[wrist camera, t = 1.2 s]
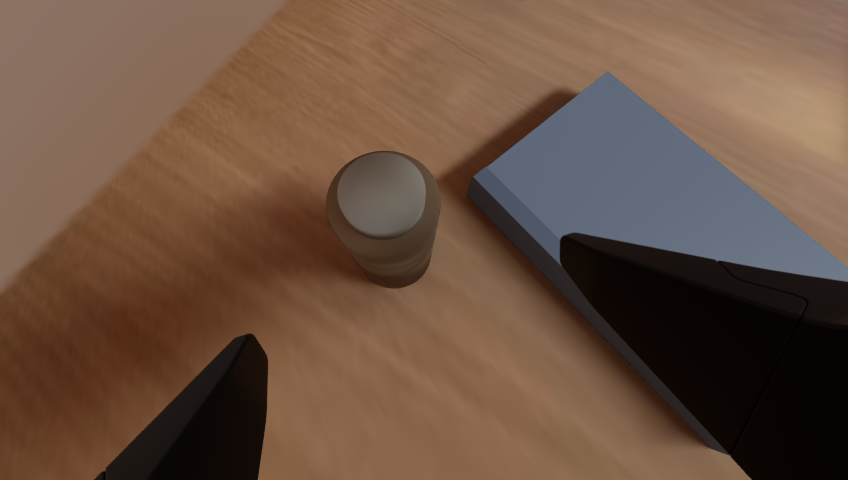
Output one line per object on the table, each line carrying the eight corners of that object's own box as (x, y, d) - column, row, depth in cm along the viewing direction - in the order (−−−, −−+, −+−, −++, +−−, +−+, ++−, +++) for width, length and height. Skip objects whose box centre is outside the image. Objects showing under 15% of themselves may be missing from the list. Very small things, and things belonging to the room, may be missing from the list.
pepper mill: (390, 303, 22) (371, 276, 12) (345, 248, 23) (295, 183, 13) (445, 256, 23) (468, 197, 13) (400, 206, 24) (390, 118, 14)
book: (707, 447, 20) (758, 466, 17) (465, 196, 24) (473, 176, 22) (820, 298, 23) (880, 292, 20) (586, 99, 28) (607, 70, 25)
